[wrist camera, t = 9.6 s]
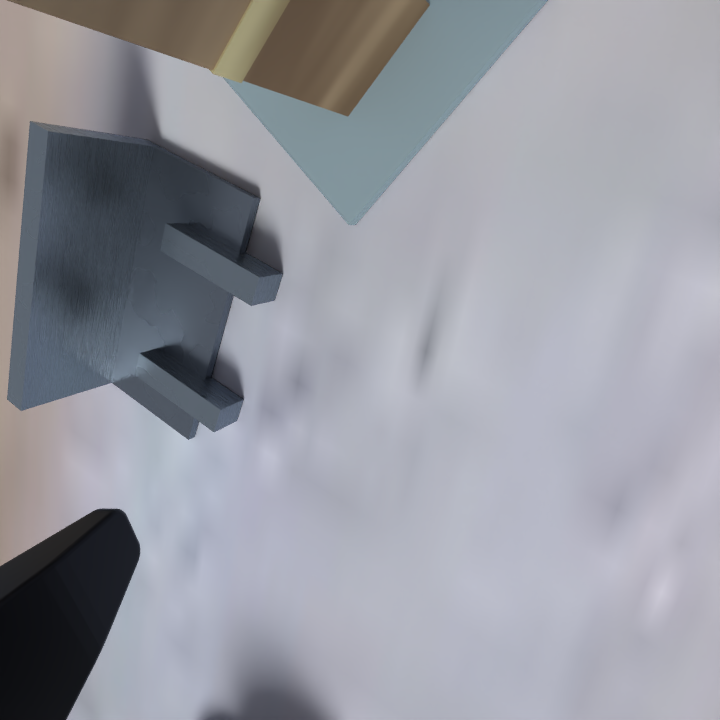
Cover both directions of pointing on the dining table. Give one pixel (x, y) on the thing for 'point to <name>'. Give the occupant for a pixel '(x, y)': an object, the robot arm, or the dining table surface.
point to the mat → (392, 101)
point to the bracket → (129, 276)
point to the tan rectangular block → (262, 39)
